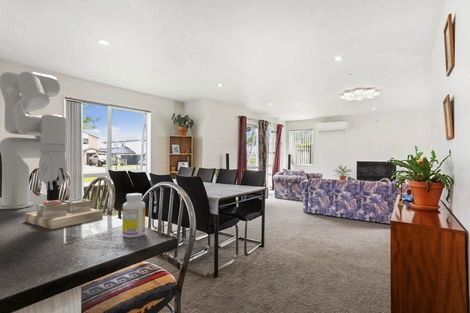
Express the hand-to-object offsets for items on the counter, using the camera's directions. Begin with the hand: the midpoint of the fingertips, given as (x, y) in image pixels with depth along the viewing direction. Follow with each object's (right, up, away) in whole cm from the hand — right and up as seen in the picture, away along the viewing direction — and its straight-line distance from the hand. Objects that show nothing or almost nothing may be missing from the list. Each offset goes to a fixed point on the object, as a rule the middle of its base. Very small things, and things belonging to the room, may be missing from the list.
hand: (52, 200), depth 94 cm
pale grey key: (+4, -5, +8) cm, 10 cm away
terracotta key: (0, -3, 0) cm, 4 cm away
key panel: (+2, -8, +4) cm, 9 cm away
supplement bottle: (+34, -9, -12) cm, 37 cm away
